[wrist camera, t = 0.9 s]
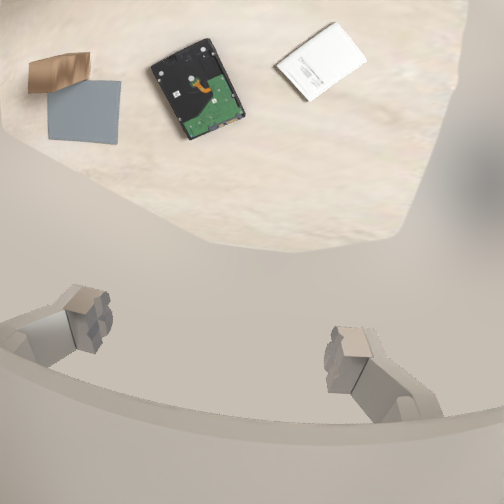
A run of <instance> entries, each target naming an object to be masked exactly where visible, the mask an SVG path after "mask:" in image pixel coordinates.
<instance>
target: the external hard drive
mask: <svg viewBox="0 0 504 504" xmlns="http://www.w3.org/2000/svg"><path fill="white" fill-rule="evenodd" d="M366 61H367V59H366V58H365V56H364V55H363V54H362V52H361V51H360V50H359V48H358V47H357V46H356V45H355V43H354V42H353V41H352V40H351V38H350V37H349V36H348V35H347V34H346V32H345V31H344V30H343V29H342V28H341V26H340V25H339V24H338V23H337V22H334V23H333V24H331V25H330V26H328V27H327V28H325V29H324V30H323V31H321V32H320V33H318V34H317V35H315V36H314V37H313V38H311V39H310V40H309V41H307V42H306V43H304V44H303V45H302V46H300V47H299V48H298V49H296V50H295V51H294V52H293V53H291V54H290V55H289V56H287V57H286V58H285V59H283V60H282V61H281V62H280V63H278V64H277V65H276V66H277V67H278V68H279V69H280V70H281V71H282V72H283V73H284V74H285V75H286V77H287V78H288V79H289V80H290V81H291V82H292V83H293V84H294V85H295V86H296V87H297V89H298V90H299V91H300V92H301V93H302V94H303V95H304V96H305V98H306V99H307V100H308V101H309V102H311V101H312V100H313V99H315V98H316V97H317V96H319V95H320V94H321V93H323V92H324V91H326V90H327V89H328V88H330V87H331V86H332V85H334V84H335V83H337V82H338V81H339V80H341V79H342V78H343V77H345V76H346V75H348V74H349V73H351V72H352V71H353V70H355V69H356V68H358V67H359V66H361V65H362V64H364V63H365V62H366Z"/></svg>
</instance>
